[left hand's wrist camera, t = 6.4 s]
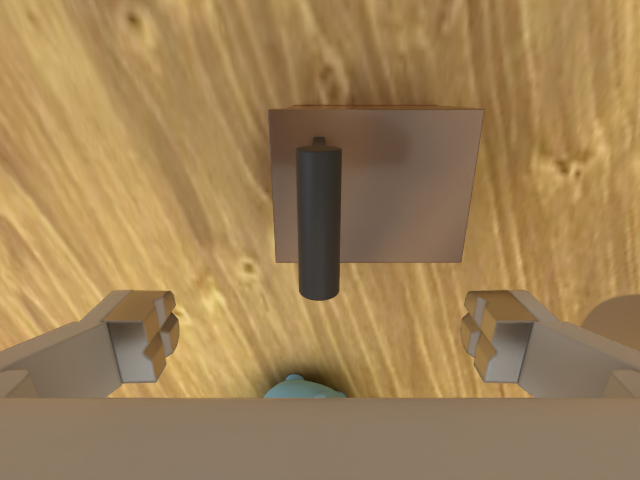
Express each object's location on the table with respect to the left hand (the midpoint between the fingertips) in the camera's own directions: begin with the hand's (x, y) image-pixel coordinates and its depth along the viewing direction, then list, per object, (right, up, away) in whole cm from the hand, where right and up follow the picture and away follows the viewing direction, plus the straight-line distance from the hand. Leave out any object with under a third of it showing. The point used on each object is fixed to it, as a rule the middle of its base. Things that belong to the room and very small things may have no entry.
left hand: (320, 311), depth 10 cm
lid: (+3, +5, +14) cm, 15 cm away
